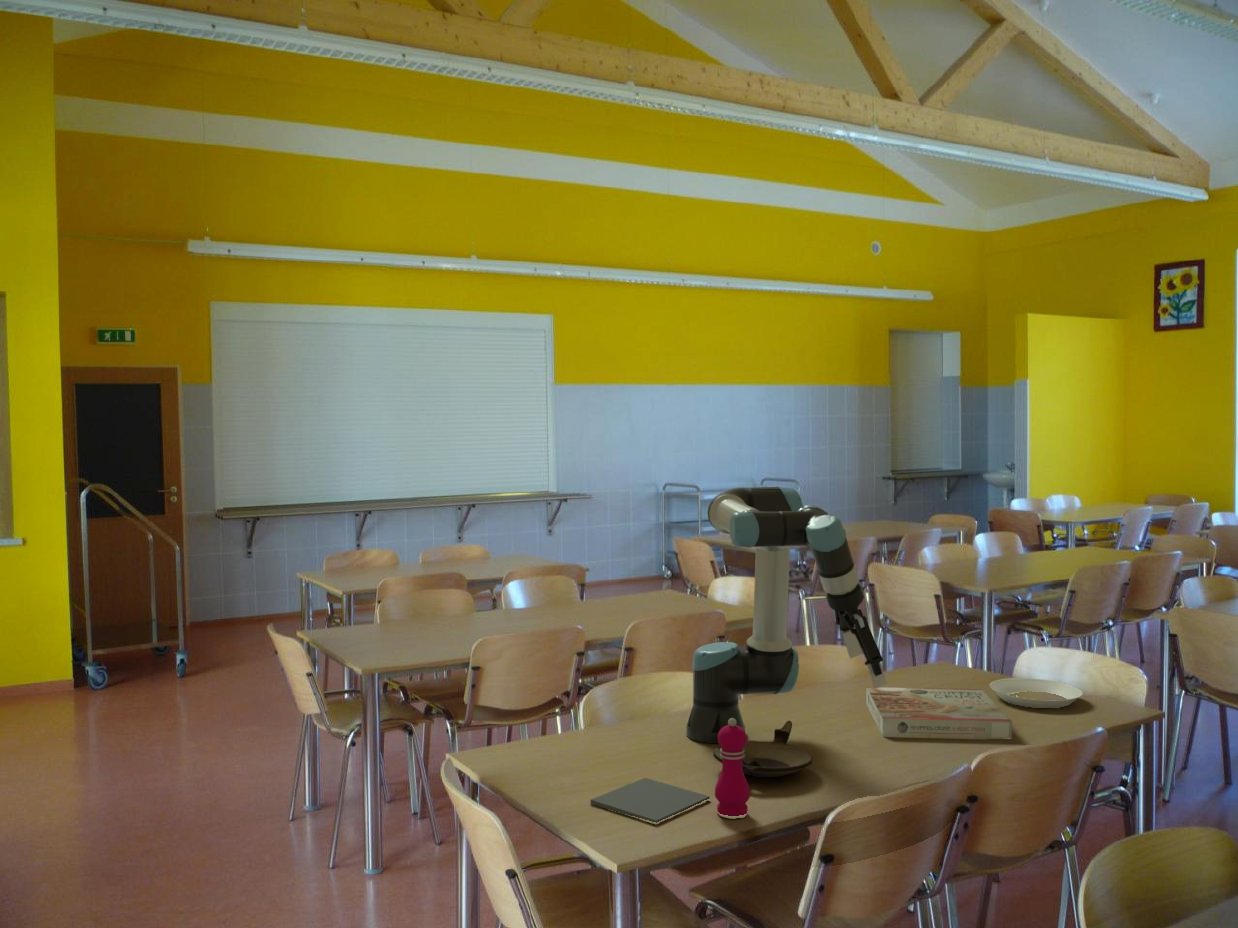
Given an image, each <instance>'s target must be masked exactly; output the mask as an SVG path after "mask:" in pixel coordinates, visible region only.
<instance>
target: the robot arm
mask: <svg viewBox="0 0 1238 928" xmlns="http://www.w3.org/2000/svg"><path fill="white" fill-rule="evenodd" d="M707 518H708V521H709V524H710V525H711V527H713V528H714V529H715V531H718V532H719V533H722V534H725V535H729V537H730V538H729V539H730V540H731V544H732V545H733V546H734V547H737V548H739V547H741V548H747V549H749V548H755V558H754V559H755V564H754V592H753V594H754V595H753V619H752V621H753V622H752V635H751V636H750V637H748V638H747V639H746V647H745V648H740V647H739V645H738V643H735V642H733V641H732V642H731V641H728V642H726V641H720V642H714V643H713V642H711V643H708V644H704V645H702V646H700V647H698V648H696V650H694V652H693V657H692V659H693V660H692V666H691V667H692V686H693V687H692V701H693V702H692V708H691V710H690V715H689V717H688V721H687V723H686V734H685V735H686V737H688V738H689V739H691V740H693V741H696V740H697V741H696V742H700V741H701V742H700V743H705V742H706V744H719V743H718V733H719V731H720V730H721V729H722V728H723V727H724V726H727V725H729V724H728V720H729V719H730V718H734V719H735V720H736V722H737V724H736V725H737V726H739V727H741V728H743V730H744V731H745V732H746V726H745V724H744V720H743V716H742V712H741V710H740V707H739V706H740V705H739V695H766V694H767V695H771V694H772V695H778V694H783V693H785V694H786V693H789V692H791V691H792V690H793V689H794V688H795V685H796V684H797V681H798V677H799V670H800V669H799V668H800V663H799V654H798V653H799V652H798V651H797V649H796V648H795V647H793V642H792V641H791V640H790V639H789V638H788V637H787V633H788V632H787V629H788V611H789V609H788V606H789V580H790V557H791V555H790V554H791V553H790V552H791V547H807V548H808V549H809V551H810V552H811V554H812V557H813V559H814V562H815V565H816V568H817V571H818V576H819V578H820V579H819V580H820V583H821V586H822V589H823V591H824V594H825V597H826V598H825V599H826V600H827V604H828V607H829V608H830V609H831V610H834V611H833V612H834V617H835V618H834V619H835V623H836V625H837V626H839V630H840V632H841V635H842V637H843V640H844V644H845V647H846V650H847V653H848V656H849V658H850V659H853V658H855V657H858V656H861V655H863V654H864V657H865V658H866V661H865V662H864V665H865V666H867V669H868V674H869V675H870V679H871V682H872V685H873V686H872V687H874V688H878V687H884V686H885V685H888V683H887V678H886V675H885V672H884V669H883V666H882V663H881V662H883V661H884V658H883V656H882V655H881V652H880V650H879V647H878V645H877V643H876V640H875V638H874V635H873V633H872V630H871V629H870V625H869V623H868V619H867V617H866V616H865V615H864V614H863V612H862V610H861V608H859V606H860V605H861V604H862V603H863V601H864V599H865V595H864V591H863V589H862V585H861V582H860V580H859V575H858V573H857V570H858V569H859V566H858V565H856V564H855V563H854V559H853V557H852V553H851V550H850V544H849V542H848V538H847V533H846V530H845V528H844V526H843V523H842V521H841V519H840V518H839V517H838V516H837V515H832V514H829V513H828V512H827V511H825V510H824V509H823V508H822V507H820V506H819V505H817V504H806V505H804V503H803V501H802V497H801V495H800V494H799V492H798V491H797V489H795V488H793V487H781V486H769V487H768V486H766V487H765V486H763V487H760V486H759V487H735V488H731V489H728V490H724V491H722V492H720V493H719V494H716V496H714V497H713V499H711V501H710V502H709V505H708V507H707Z"/></svg>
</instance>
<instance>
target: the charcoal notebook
mask: <svg viewBox="0 0 1238 928" xmlns="http://www.w3.org/2000/svg"><path fill="white" fill-rule="evenodd" d="M710 797H711V795H706V794H703V793H700V792H696V791H692V790H689V789H686V788H684V787H683V788H682V787H679V786H676V785H675V786H674V785H673V784H668V783H664V782H661V781H658V780H654V779H651V778H647V777H644V778H641V779H639V780H637V781H633V782H631V783H628V784H626V785H624V786H622V787H618V788H616V789H614V790H611V791H609V792H607V793H604V794H601V795H599V796H595V797H593V798H591V799H590V805H591V804H592V806H595V805H596V806H595V807H598V806H599V807H598V808H601V807H603V808H602V809H604V808H606V809H605V810H607V809H610V810H613V811H616V812H620V813H623V814H627V815H630V816H635V817H638V818H642V819H645V820H649V821H652V822H656V823H657V822H659V821H661V820H663V819H666V818H668V817H670V816H672V815H675V814H677V813H679V812H682V811H684V810H686V809H688V808H690V807H692V806H694V805H696V804H699V803H701V802H702V801H704V800H707V799H709V798H710ZM710 799H711V798H710ZM610 810H609V811H610ZM613 811H612V812H613ZM616 812H615V813H616Z"/></svg>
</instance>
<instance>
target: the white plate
mask: <svg viewBox="0 0 1238 928" xmlns="http://www.w3.org/2000/svg"><path fill="white" fill-rule="evenodd" d="M989 687H990V689H992V690H993V691H994V693H996V694H997V695H998V696H999V697H1000V698H1001V700H1003V701H1004V702H1005V701H1006V702H1005V703H1007V702H1008V704H1010V703H1011V704H1010V705H1013V704H1014V705H1013V706H1016V705H1020V706H1019V707H1021V706H1025V707H1024V708H1027V707H1032V708H1031V709H1035V708H1057V707H1064V706H1067V707H1068V705H1069V706H1070V705H1071V704H1072V703H1073V702H1075V701H1076V700H1077V699H1078V698H1080V697H1081V696H1083V695H1084V692H1083V690H1082V689H1080V688H1079V687H1077V686H1074V685H1072V684H1069V683H1065V682H1061V681H1056V680H1050V679H1043V678H1042V679H1041V678H1031V677H1030V678H1024V677H1017V678H1015V677H1012V678H1002V679H997V680H993V681H992V682H990V683H989ZM1027 691H1030V692H1031V691H1032V692H1034V691H1035V692H1047V693H1051V694H1056V695H1059V696H1062V697H1064V698H1066V699H1067V700H1035V699H1026V698H1019V697H1018V696H1017V695H1016V697H1014V696H1010V695H1009V694H1014V693H1019V692H1027ZM1064 708H1065V707H1064Z"/></svg>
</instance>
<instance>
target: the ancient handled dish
mask: <svg viewBox="0 0 1238 928" xmlns="http://www.w3.org/2000/svg"><path fill="white" fill-rule="evenodd" d="M792 728H793V722H792V721H791V720H790V719H789V720H787V721H786V722H785V723H784V725H783V726H782V727H781V728H775V729H774V732H773V733H774V736H773V741H759V740H757V741H756V740H747V743H746V745H745V746H744V747H743V749H744V750H745V751H744V755H745V756H744V757H743V758H742V769H743V773H744V775H749V776H752V777H759V778H777V777H782V776H786V775H791V774H793V773H797V772H799V771H802V770H803V769H806V768H808V767H809V766H811V765H812V764H813V759H814V758H813V757H812V755H811V754H810V753H808V752H806V751H805V750H804V749H801V748H799V747H796V746H792V745H789V744H788V742H789V738H790V736H791V732H792ZM720 749H721V748H718V747H715V748H714V749H713V750H712V754H713V757H714V759H716V760H717V761H718V762H719V763H721V764H722V763H723V761H722V757H721V756H720V753H721V752H720ZM754 764H755V765H756V766H754Z"/></svg>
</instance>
